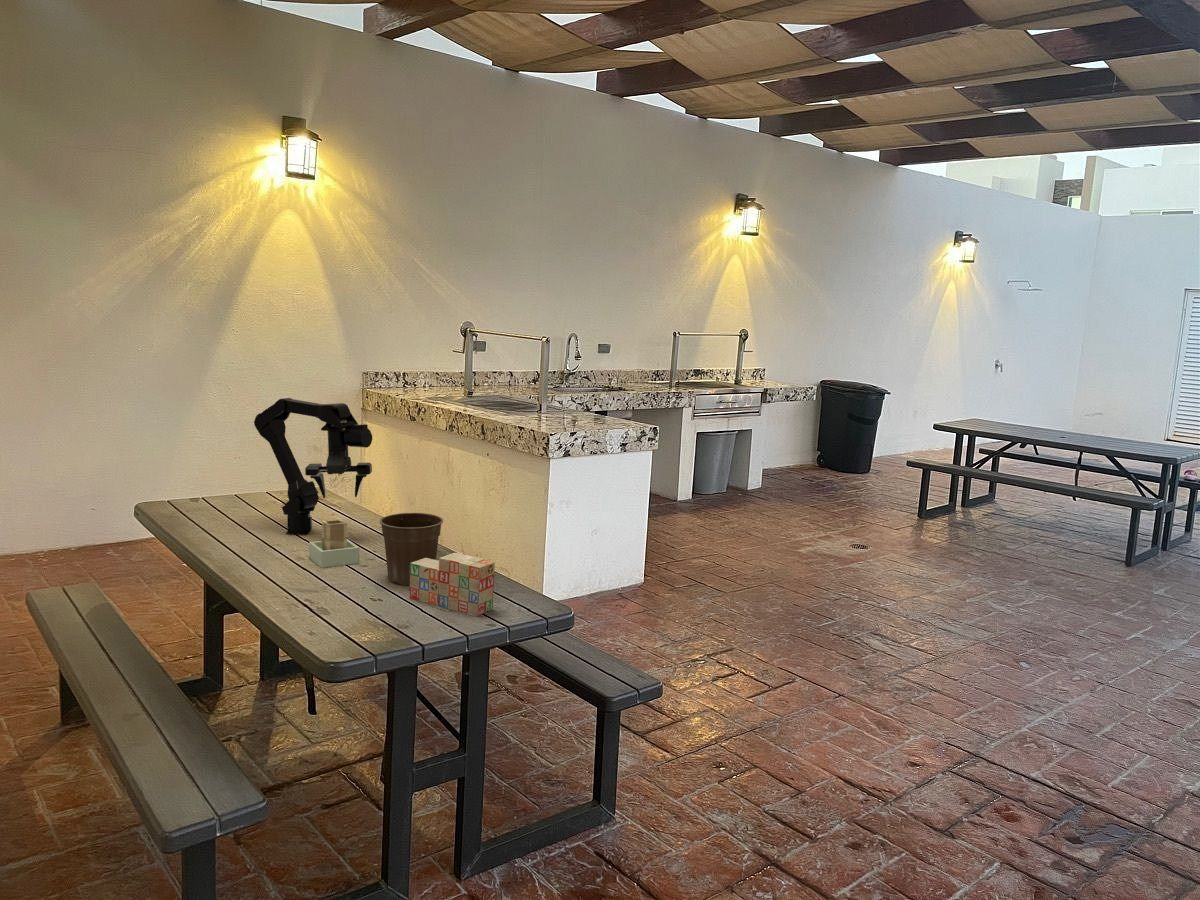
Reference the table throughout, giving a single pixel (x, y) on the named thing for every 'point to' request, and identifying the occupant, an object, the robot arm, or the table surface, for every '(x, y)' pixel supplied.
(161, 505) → the table surface
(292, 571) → the table surface
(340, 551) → the sage crate
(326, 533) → the pine crate
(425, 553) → the plant pot
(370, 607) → the table surface
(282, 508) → the robot arm
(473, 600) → the stack of blocks
